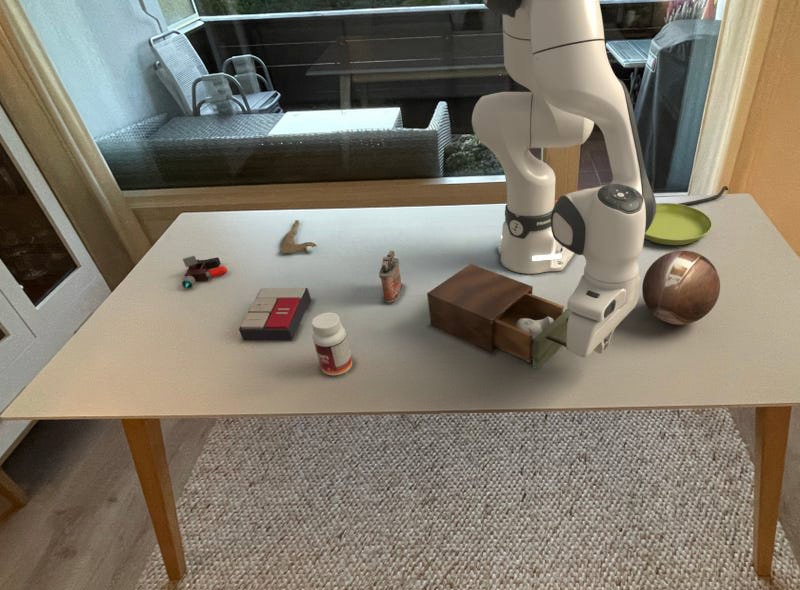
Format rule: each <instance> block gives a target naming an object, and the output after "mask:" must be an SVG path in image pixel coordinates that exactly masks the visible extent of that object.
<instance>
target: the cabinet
mask: <svg viewBox="0 0 800 590" xmlns="http://www.w3.org/2000/svg"><path fill="white" fill-rule="evenodd" d="M527 293H530V294H532V295H533V285H530V284H527V283H524V282H522V281H519V280H517V279H514V278H511V277H508V276H506V275H502V274H500V273H497V272H494V271H492V270H489V269H486V268H484V267H482V266H478V265H475V264H473V263H469V264H468V265H466V266H465V267H464V268H462V269H460V270H458V272H456V273H454V274H453V275H452V276H450V277H449V278H447V279H446V280H444V281H443V282H442V283H440V284H438V285H437V286H436V287H434V288H432V289H431V290H430V291H428V292H427V293H426V296H427V304H428V305H427V306H428V312H429V314H428V315H429V322H430V327H432V328H434V329H436V330H439V331H441V332H443V333H445V334H447V335H450V336H451V337H454V338H456V339H458V340H460V341H463V342H465V343H466V344H469V345H471V346H473V347H476V348H478V349H480V350H482V351H484V352H487V353H489V354H491V355H493V353H495V352H496V351H497V350H498V349H499V348H497V347H495V346H493V321H494V320H495V319H496V318H498V317H499V316H500V315H501V314H502V313H504V312H505V311H506V310H507V309H509V308H510V307H511V306H512V305H514V304H515V303H516V302H517V301H519V300H520V299H521V298H522V297H524V296H525V295H526V294H527Z"/></svg>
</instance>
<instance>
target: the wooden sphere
mask: <svg viewBox="0 0 800 590" xmlns="http://www.w3.org/2000/svg"><path fill="white" fill-rule="evenodd" d="M641 292H642V298H643V301H644V303H645V306H646V307H647V309H648V310H649V311H650V313H651V314H652V315H653V316H654V317H655V318H657V319H658V320H660V321H662V322H664V323H667V324H671V325H677V326H678V325H679V326H680V325H689V324H693V323H695V322H698V321H699V320H701V319H703V318H704V317H705V316H707V315H708V314H710V312H711V311H712V309H714V307H715V306H716V304H717V301H718V299H719V296H720V292H721V280H720V276H719V273H718V269H716V267H715V265H714V264H713V263H712V262H711V260H709V259H708V258H707V257H705V256H704V255H702V254H701V253H698V252H695V251H691V250H684V249H683V250H674V251H670V252H668V253H665V254H663V255H661V256H660V257H658V258H657V259H656V260H654V261H653V262H652V264H651V265H650V266H649V267H648V269H647V270H646V272H645V274H644V277H643V280H642V287H641Z"/></svg>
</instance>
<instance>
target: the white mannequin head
mask: <svg viewBox="0 0 800 590" xmlns="http://www.w3.org/2000/svg"><path fill="white" fill-rule="evenodd" d="M552 322H554V320H553V318H550V317H548V316H547V317H546V318H544V319H541V320H532V319H527V318H522V319H519V320H518V321H517V322H516V324H515V327H516V328H519V329H521V330H523V331H526V332H528V333H530V334H532V340H533V341H534V339H535V338H536V337H537V336H538V335H539V334H540V333H541V332H543V331H544V330H545V329H546V328H547V327H548V326H549V325H550V324H551V323H552Z"/></svg>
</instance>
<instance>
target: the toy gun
mask: <svg viewBox="0 0 800 590" xmlns="http://www.w3.org/2000/svg"><path fill="white" fill-rule="evenodd" d="M182 261H183V264H184V266H185V267H186V268H187V267H188V268H187V270H186V271H185V273H184V278H183V280H182V281H181V286H182V287H183V288H184V289H186V290H191V289H192V288H193V287H194V285H195V284H196V282H197V283H198V282H209V278H212V279H213V278H216V277H221V276H223V275H226V274H227V273H228V268H227V267H226V266H224V265H221V263H222V262H221V260H220V258H219V257H211V258H206V259H197V258H196V255H190V256H187V257H184V258H182Z"/></svg>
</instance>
